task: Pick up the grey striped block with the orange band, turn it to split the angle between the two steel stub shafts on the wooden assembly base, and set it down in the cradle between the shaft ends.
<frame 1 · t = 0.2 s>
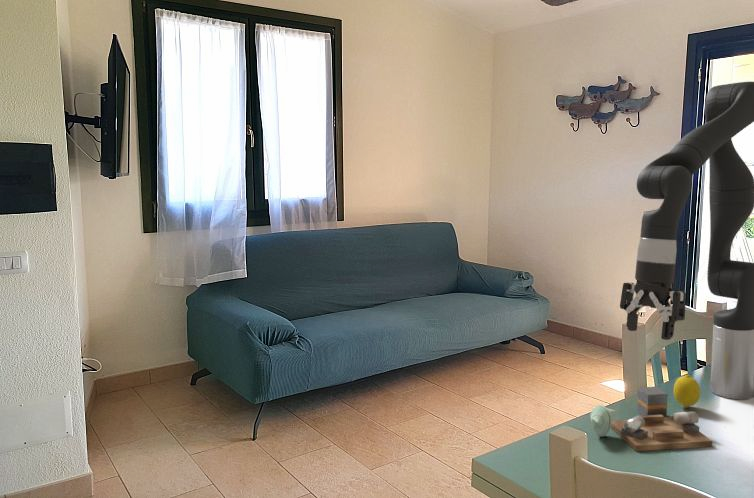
hand: (648, 334, 126), 21 cm above the table, tool pointing down, fingers open, 8 cm apart
wooden assembly base: (658, 435, 125), on the table
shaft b: (634, 440, 123), resting on wooden assembly base
lemon: (685, 408, 139), on the table
grey striped block: (651, 415, 135), on the table
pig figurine: (600, 436, 126), on the table
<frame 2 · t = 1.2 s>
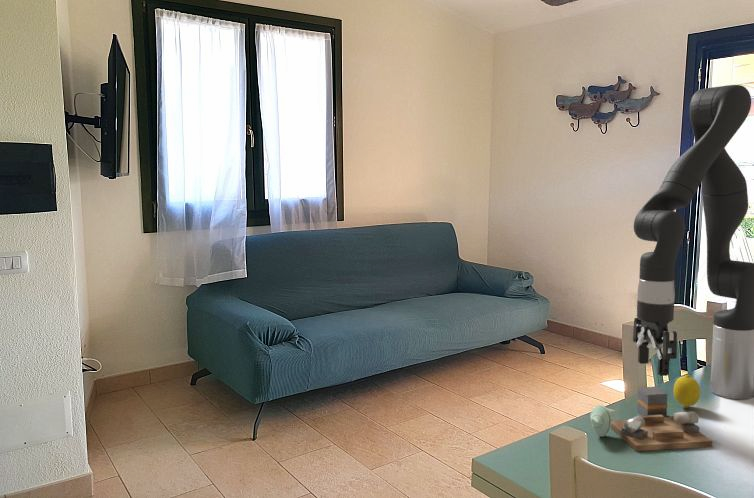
hand: (652, 368, 133), 11 cm above the table, tool pointing down, fingers open, 8 cm apart
nothing on the table moved.
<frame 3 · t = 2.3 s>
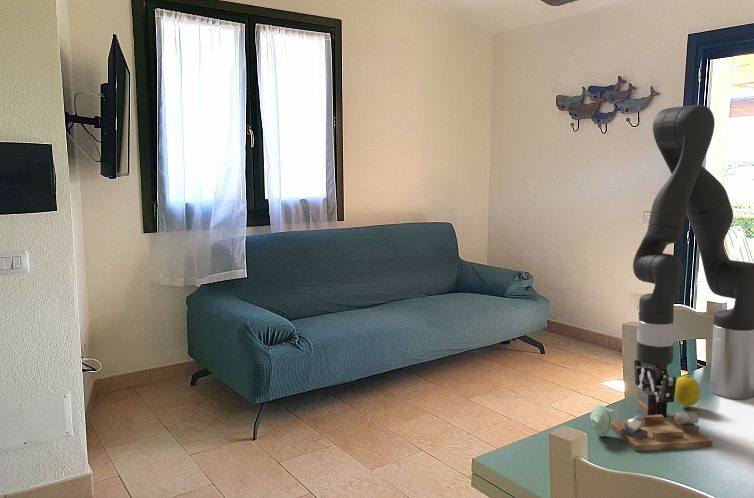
hand: (652, 411, 134), 1 cm above the table, tool pointing down, fingers open, 6 cm apart
grey striped block: (651, 415, 135), on the table, touching gripper
everything else where it was.
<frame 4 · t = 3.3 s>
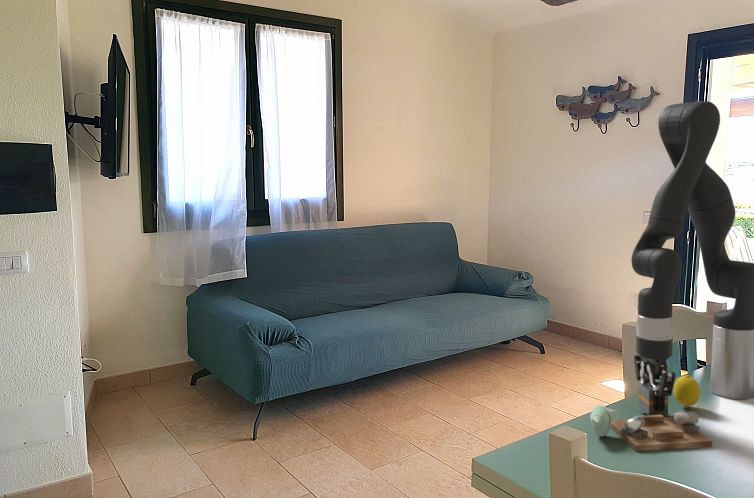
hand: (652, 405, 135), 2 cm above the table, tool pointing down, fingers closed on grey striped block, 4 cm apart
grey striped block: (653, 410, 135), point 1 cm above the table, touching gripper
everything else where it was.
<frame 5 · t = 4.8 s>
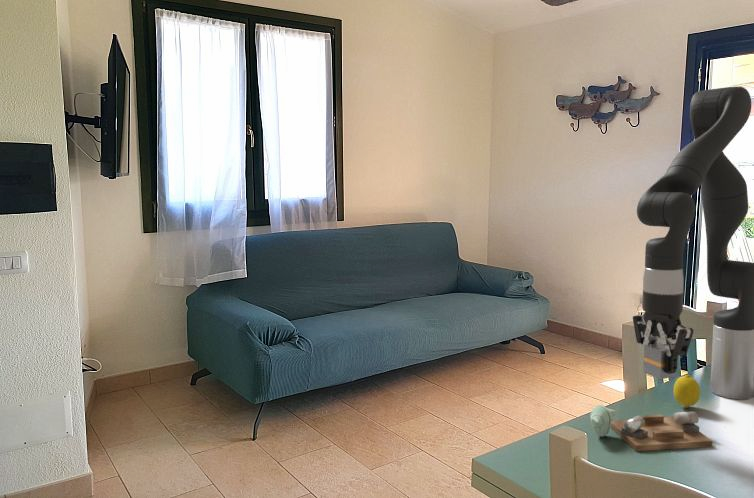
hand: (660, 368, 123), 15 cm above the table, tool pointing down, fingers closed on grey striped block, 4 cm apart
grey striped block: (660, 374, 123), point 14 cm above the table, touching gripper
everything else where it was.
when the fingers open (3 cm above the table, at t = 6.5 s): grey striped block stays where it is, resting on wooden assembly base.
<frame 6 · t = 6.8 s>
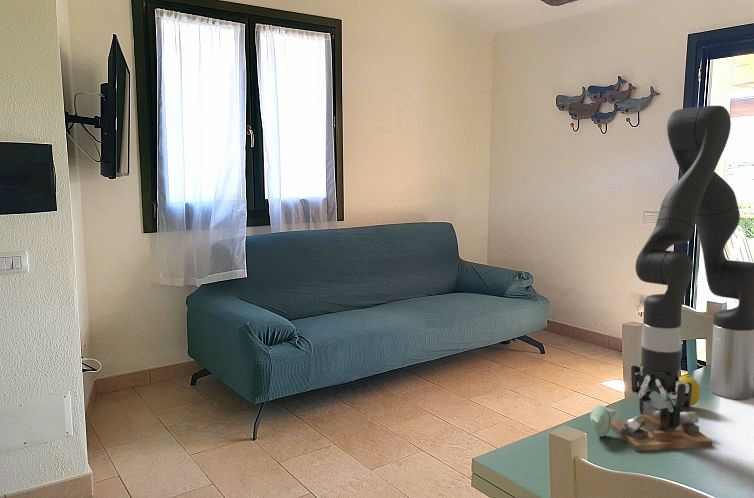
hand: (658, 420, 125), 3 cm above the table, tool pointing down, fingers open, 6 cm apart
grey striped block: (659, 430, 125), point 1 cm above the table, touching wooden assembly base
everything else where it was.
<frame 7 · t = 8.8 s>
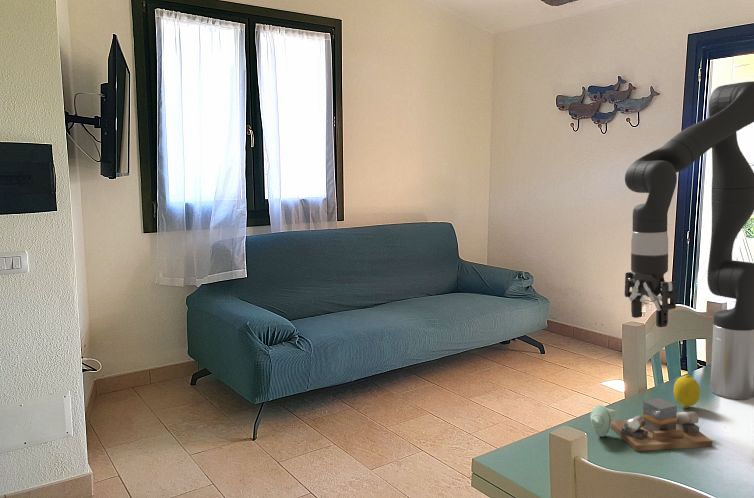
hand: (648, 321, 133), 22 cm above the table, tool pointing down, fingers open, 8 cm apart
nothing on the table moved.
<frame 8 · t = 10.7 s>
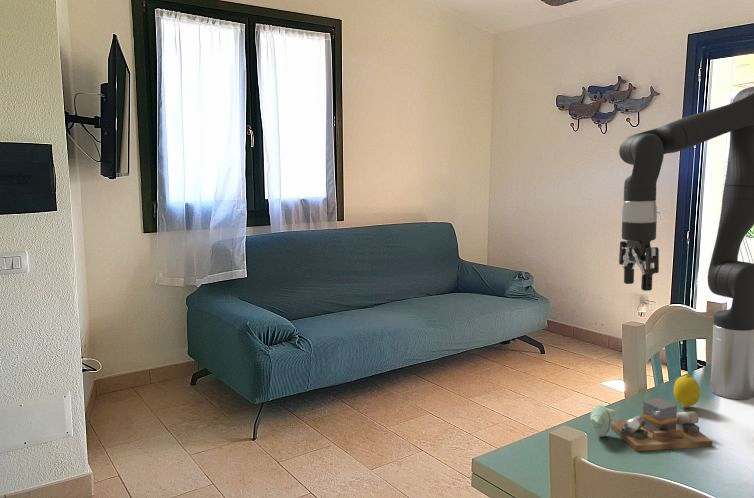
hand: (637, 286, 141), 28 cm above the table, tool pointing down, fingers open, 8 cm apart
nothing on the table moved.
at the end: grey striped block 0.1 cm off-centre on the wooden assembly base, point 1.2 cm above the wooden assembly base's base; grey striped block tilted 0°; the gripper is holding nothing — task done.
